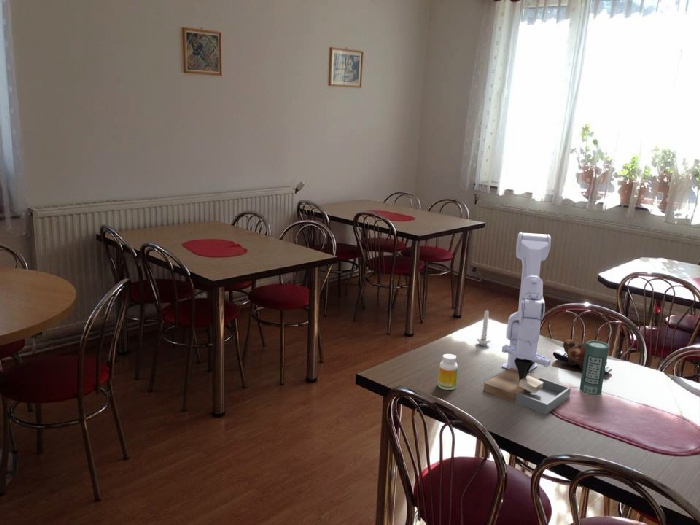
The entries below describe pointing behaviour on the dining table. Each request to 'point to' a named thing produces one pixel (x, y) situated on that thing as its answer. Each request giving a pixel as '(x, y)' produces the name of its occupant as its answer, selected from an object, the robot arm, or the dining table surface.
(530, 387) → the wooden tile
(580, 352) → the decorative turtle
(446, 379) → the supplement bottle
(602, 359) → the can
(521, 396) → the box
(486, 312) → the screw
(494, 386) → the wooden board
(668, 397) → the dining table surface
